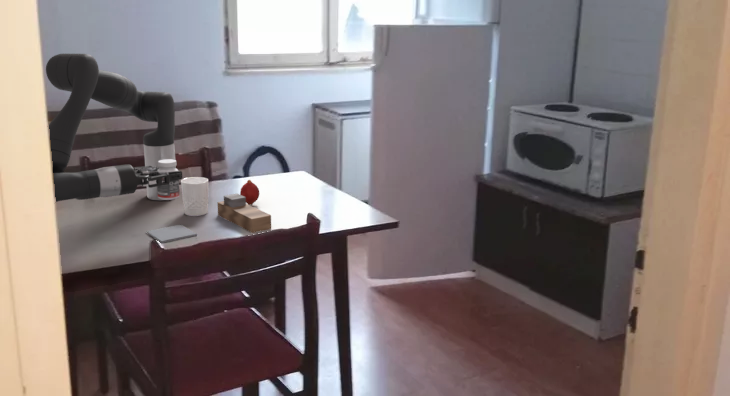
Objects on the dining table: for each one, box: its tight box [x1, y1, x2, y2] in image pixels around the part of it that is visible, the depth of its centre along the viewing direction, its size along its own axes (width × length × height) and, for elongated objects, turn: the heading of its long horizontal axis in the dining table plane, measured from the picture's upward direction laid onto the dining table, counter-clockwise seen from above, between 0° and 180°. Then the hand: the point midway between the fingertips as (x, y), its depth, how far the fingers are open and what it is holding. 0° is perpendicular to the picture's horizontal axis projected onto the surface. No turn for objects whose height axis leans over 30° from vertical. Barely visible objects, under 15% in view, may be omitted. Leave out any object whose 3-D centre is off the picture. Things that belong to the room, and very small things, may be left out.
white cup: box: [180, 176, 209, 217], centre depth 218 cm, size 8×8×10 cm
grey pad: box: [146, 224, 198, 244], centre depth 200 cm, size 10×10×1 cm
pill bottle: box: [157, 159, 181, 201], centre depth 196 cm, size 6×6×10 cm
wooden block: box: [217, 193, 272, 234], centre depth 211 cm, size 20×6×6 cm, turn 38°
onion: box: [239, 179, 260, 206], centre depth 227 cm, size 6×6×8 cm
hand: (176, 172), depth 197 cm, fingers closed on pill bottle, 5 cm apart
